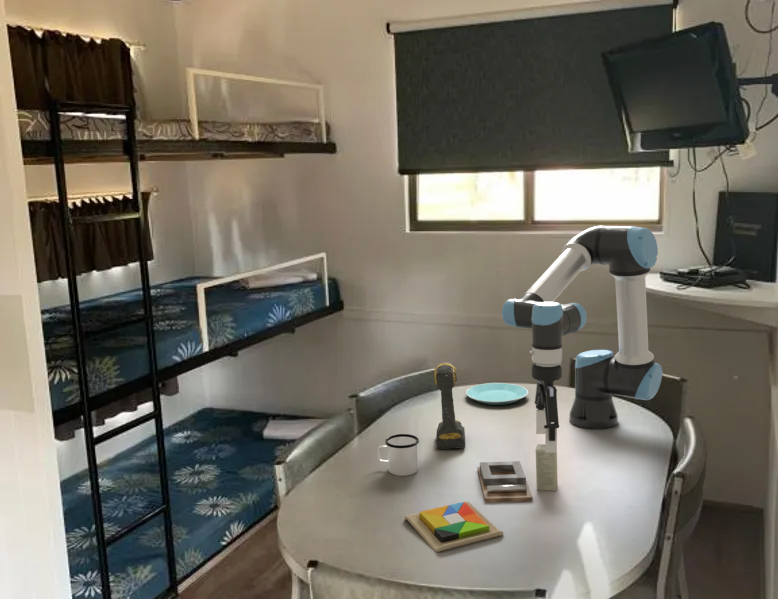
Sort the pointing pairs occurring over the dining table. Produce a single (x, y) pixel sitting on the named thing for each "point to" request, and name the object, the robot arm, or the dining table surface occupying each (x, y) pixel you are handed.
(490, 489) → the rod
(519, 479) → the stand
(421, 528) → the wooden puzzle
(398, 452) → the mug
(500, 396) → the plate
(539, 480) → the box
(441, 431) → the cordless drill
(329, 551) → the dining table surface
